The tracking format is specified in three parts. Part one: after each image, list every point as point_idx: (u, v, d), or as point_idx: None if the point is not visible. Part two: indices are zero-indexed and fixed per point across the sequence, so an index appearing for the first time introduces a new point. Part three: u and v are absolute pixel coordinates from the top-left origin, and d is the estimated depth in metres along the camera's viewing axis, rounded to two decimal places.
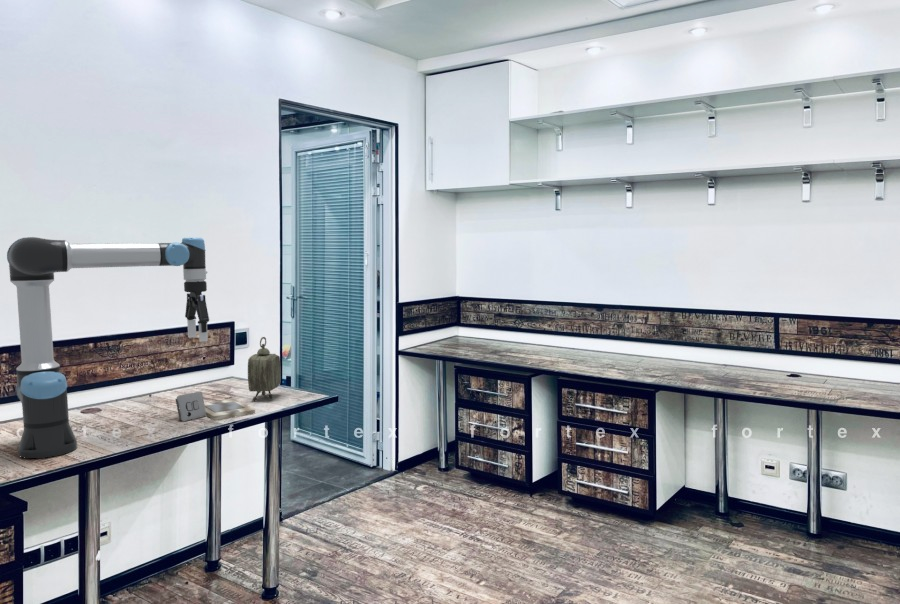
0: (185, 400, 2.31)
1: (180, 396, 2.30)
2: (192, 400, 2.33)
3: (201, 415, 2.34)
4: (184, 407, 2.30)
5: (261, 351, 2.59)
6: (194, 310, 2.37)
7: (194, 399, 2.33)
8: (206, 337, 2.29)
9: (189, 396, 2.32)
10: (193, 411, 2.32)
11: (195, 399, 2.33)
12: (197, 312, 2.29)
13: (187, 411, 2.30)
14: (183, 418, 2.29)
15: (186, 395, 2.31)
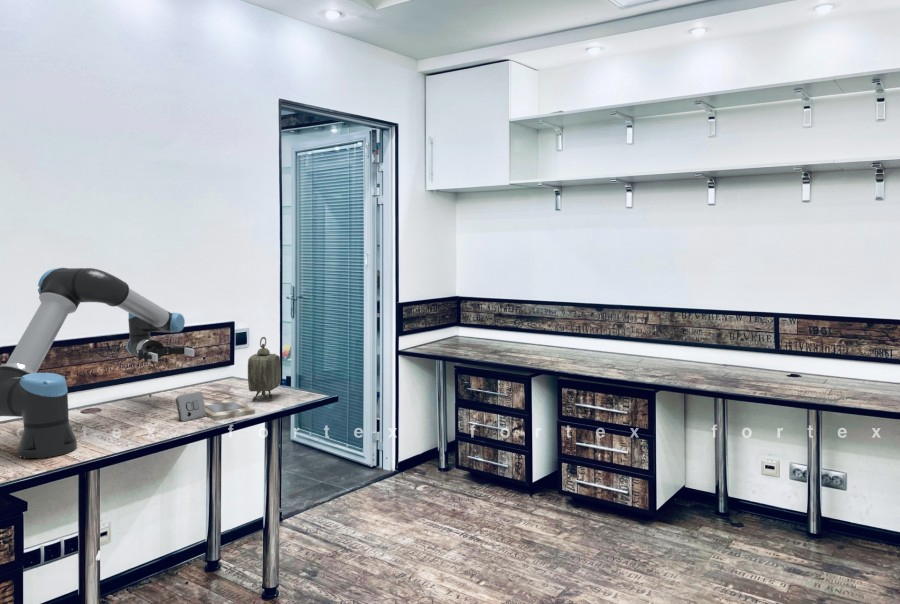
0: (185, 400, 2.31)
1: (180, 396, 2.30)
2: (192, 400, 2.33)
3: (201, 415, 2.34)
4: (184, 407, 2.30)
5: (261, 351, 2.59)
6: None
7: (194, 399, 2.33)
8: None
9: (189, 396, 2.32)
10: (193, 411, 2.32)
11: (195, 399, 2.33)
12: (176, 347, 2.48)
13: (187, 411, 2.30)
14: (183, 418, 2.29)
15: (186, 395, 2.31)
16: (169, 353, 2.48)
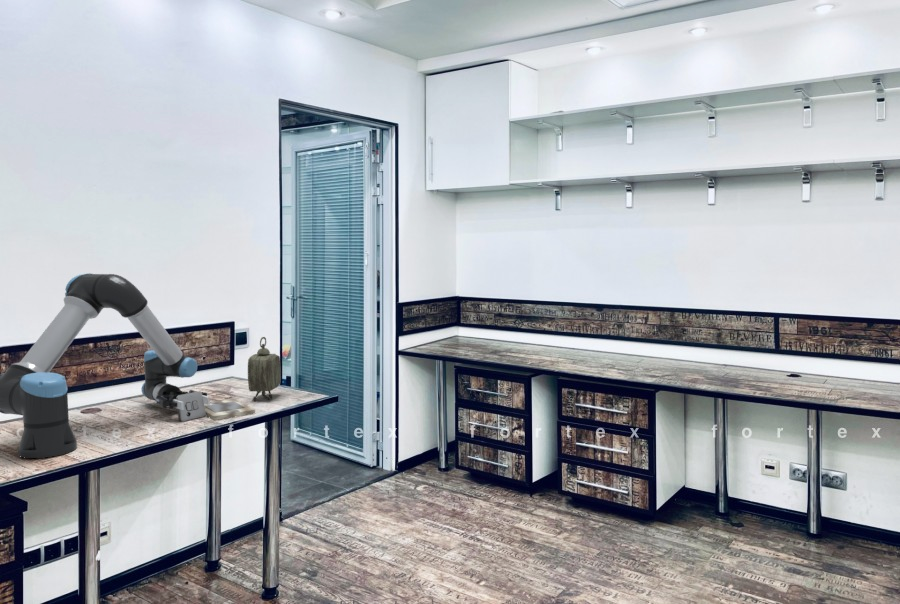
0: (184, 400, 2.30)
1: (179, 396, 2.29)
2: (191, 400, 2.32)
3: (201, 415, 2.34)
4: (184, 407, 2.29)
5: (261, 351, 2.59)
6: None
7: (194, 399, 2.33)
8: None
9: (189, 396, 2.32)
10: (193, 411, 2.32)
11: (195, 399, 2.33)
12: None
13: (187, 411, 2.30)
14: (183, 418, 2.28)
15: (186, 395, 2.31)
16: None
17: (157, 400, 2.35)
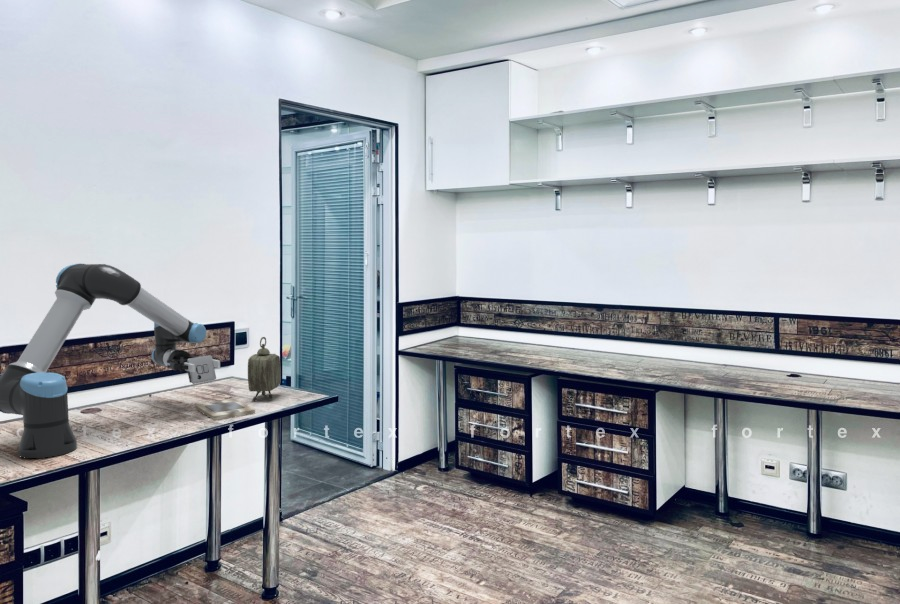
0: (195, 363, 2.33)
1: (190, 359, 2.32)
2: (202, 363, 2.35)
3: (211, 378, 2.36)
4: None
5: (261, 351, 2.59)
6: None
7: (204, 362, 2.36)
8: None
9: (199, 359, 2.34)
10: (203, 374, 2.34)
11: (205, 363, 2.36)
12: None
13: (197, 374, 2.33)
14: (193, 381, 2.31)
15: (196, 358, 2.34)
16: None
17: (168, 364, 2.38)
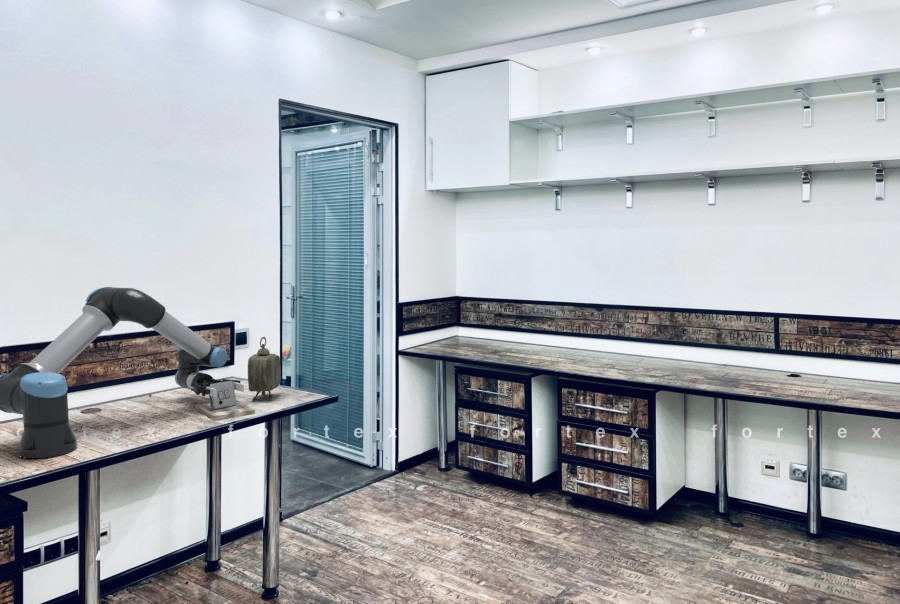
0: (217, 388, 2.39)
1: (212, 385, 2.38)
2: (223, 389, 2.41)
3: (232, 404, 2.43)
4: None
5: (261, 351, 2.59)
6: None
7: (225, 388, 2.42)
8: None
9: (221, 385, 2.41)
10: (224, 400, 2.41)
11: (226, 388, 2.42)
12: (225, 381, 2.49)
13: (219, 399, 2.39)
14: (215, 406, 2.37)
15: (218, 384, 2.40)
16: None
17: (191, 387, 2.45)
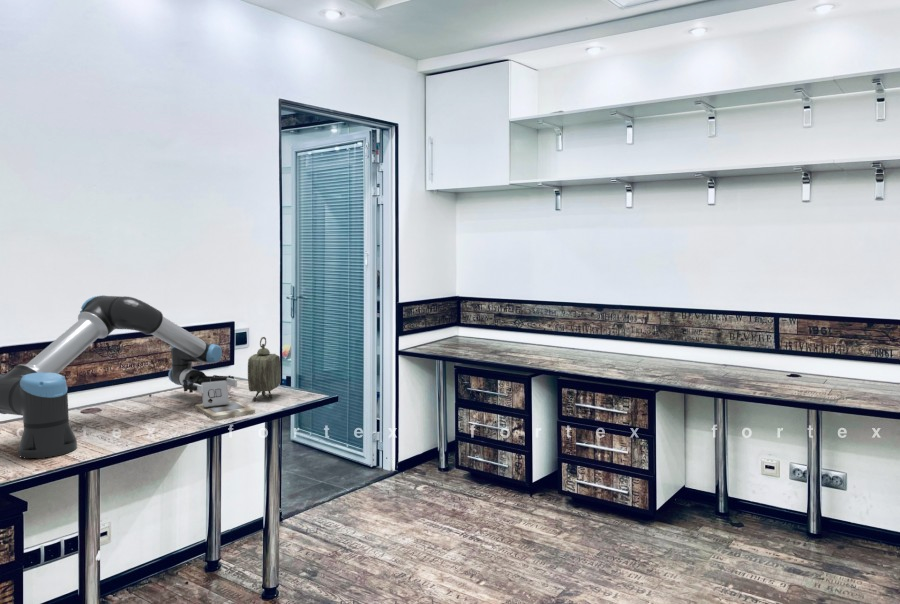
0: (208, 387, 2.42)
1: (203, 383, 2.42)
2: (215, 388, 2.43)
3: (223, 403, 2.42)
4: (206, 394, 2.41)
5: (261, 351, 2.59)
6: None
7: (217, 387, 2.44)
8: None
9: (212, 384, 2.43)
10: (215, 398, 2.42)
11: (218, 387, 2.44)
12: (218, 377, 2.56)
13: (209, 398, 2.41)
14: (204, 404, 2.39)
15: (209, 383, 2.43)
16: None
17: (183, 384, 2.51)
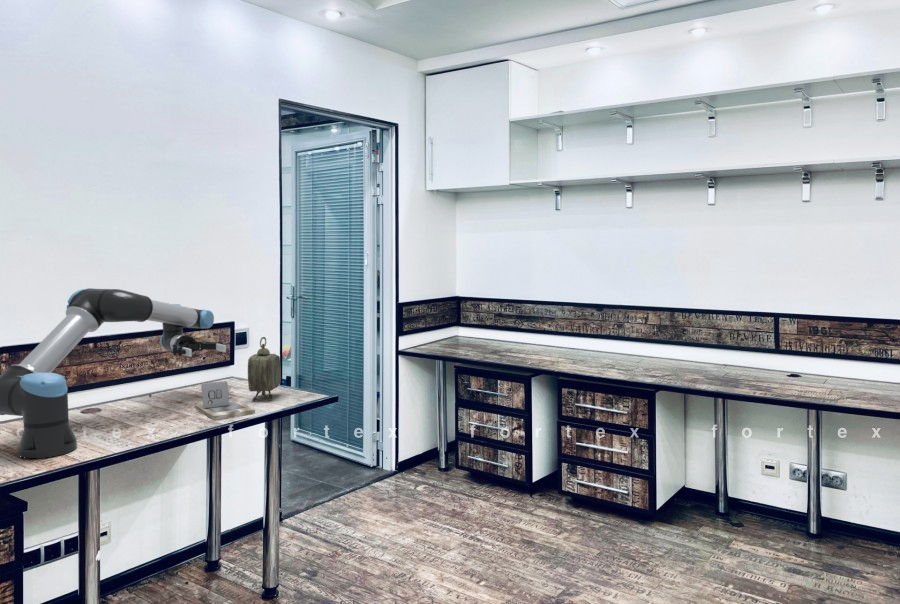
0: (208, 388, 2.41)
1: (203, 384, 2.41)
2: (215, 389, 2.42)
3: (223, 404, 2.42)
4: (206, 395, 2.40)
5: (261, 351, 2.59)
6: None
7: (218, 388, 2.43)
8: None
9: (213, 385, 2.42)
10: (215, 399, 2.41)
11: (219, 388, 2.43)
12: (208, 343, 2.57)
13: (209, 399, 2.41)
14: (204, 405, 2.39)
15: (210, 384, 2.42)
16: (201, 348, 2.57)
17: (173, 348, 2.53)
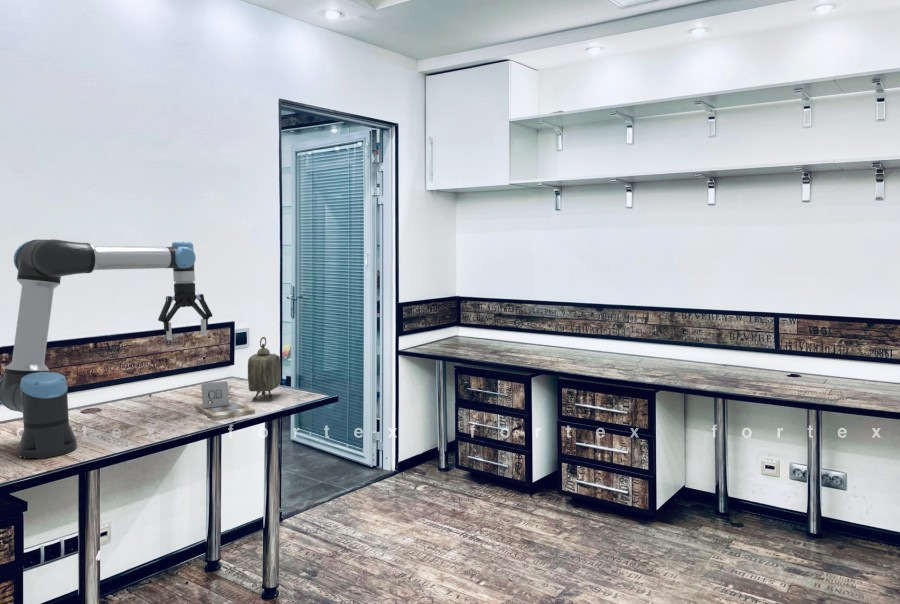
0: (208, 388, 2.41)
1: (203, 384, 2.41)
2: (215, 389, 2.42)
3: (223, 404, 2.42)
4: (206, 395, 2.40)
5: (261, 351, 2.59)
6: None
7: (218, 388, 2.43)
8: None
9: (213, 385, 2.42)
10: (215, 399, 2.41)
11: (219, 388, 2.43)
12: (200, 310, 2.50)
13: (209, 399, 2.41)
14: (204, 405, 2.39)
15: (210, 384, 2.42)
16: (192, 306, 2.50)
17: (167, 299, 2.42)
